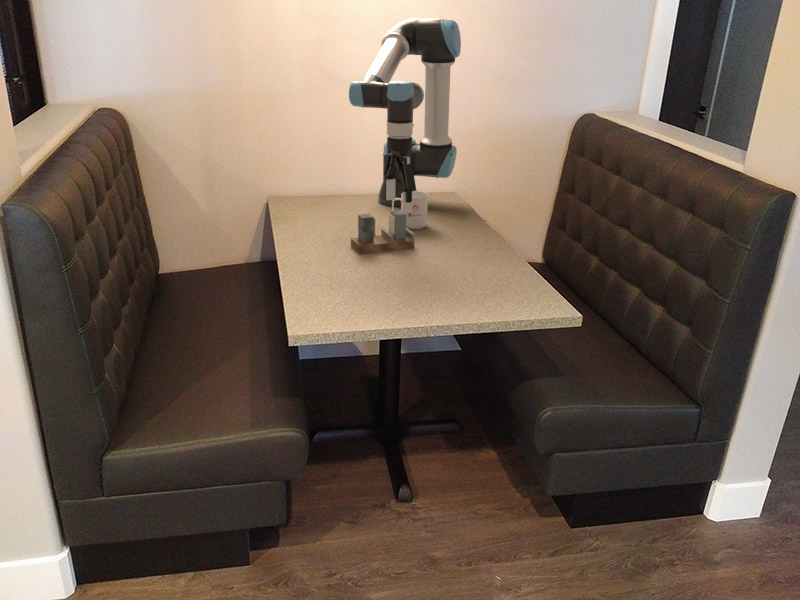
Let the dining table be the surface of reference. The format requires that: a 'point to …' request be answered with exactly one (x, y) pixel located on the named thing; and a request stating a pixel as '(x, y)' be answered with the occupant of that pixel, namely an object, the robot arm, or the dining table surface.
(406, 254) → the dining table surface
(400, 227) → the grey block tan top
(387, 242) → the wooden block stand
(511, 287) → the dining table surface
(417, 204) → the mug
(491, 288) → the dining table surface
